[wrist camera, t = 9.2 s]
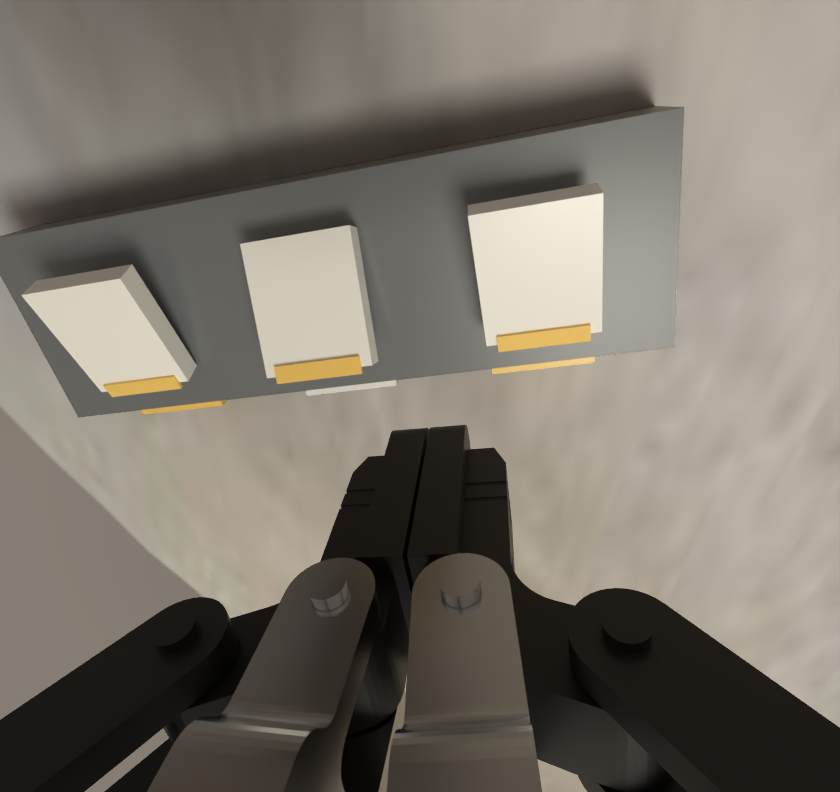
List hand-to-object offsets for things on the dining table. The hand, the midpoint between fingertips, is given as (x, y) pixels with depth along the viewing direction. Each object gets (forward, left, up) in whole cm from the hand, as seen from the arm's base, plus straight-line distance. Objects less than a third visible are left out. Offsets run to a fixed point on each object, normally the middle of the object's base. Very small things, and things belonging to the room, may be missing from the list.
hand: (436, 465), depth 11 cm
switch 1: (0, -17, -14) cm, 22 cm away
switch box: (0, -7, -19) cm, 20 cm away
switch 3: (0, +3, -14) cm, 14 cm away
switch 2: (0, -7, -14) cm, 15 cm away
